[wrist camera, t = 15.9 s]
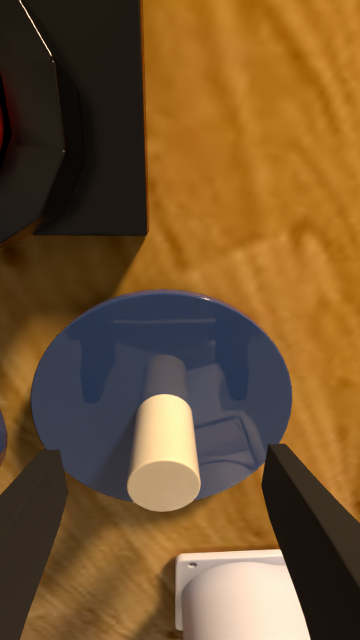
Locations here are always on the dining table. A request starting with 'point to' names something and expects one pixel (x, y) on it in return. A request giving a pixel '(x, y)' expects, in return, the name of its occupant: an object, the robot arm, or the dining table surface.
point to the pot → (2, 439)
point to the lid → (161, 397)
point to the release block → (72, 119)
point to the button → (1, 128)
